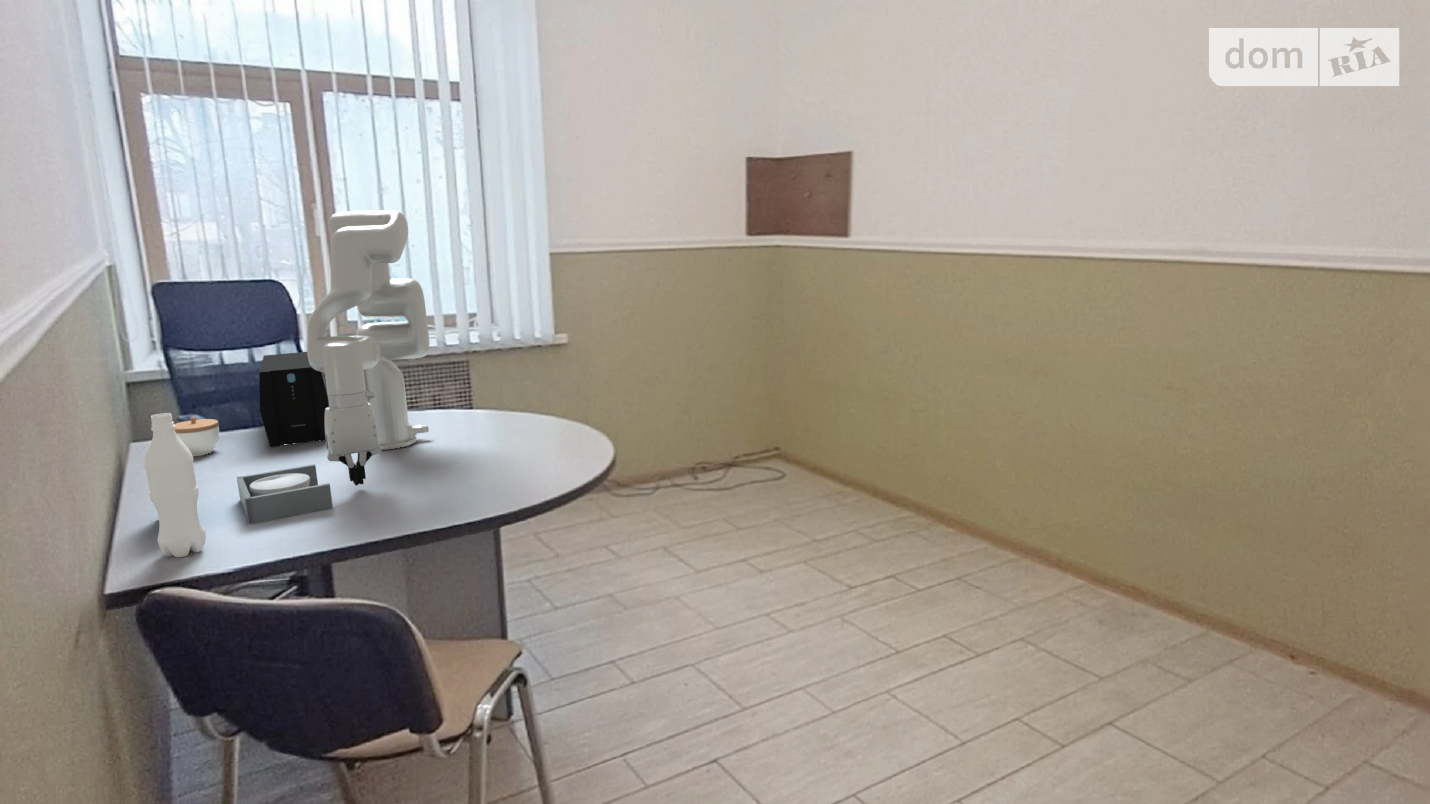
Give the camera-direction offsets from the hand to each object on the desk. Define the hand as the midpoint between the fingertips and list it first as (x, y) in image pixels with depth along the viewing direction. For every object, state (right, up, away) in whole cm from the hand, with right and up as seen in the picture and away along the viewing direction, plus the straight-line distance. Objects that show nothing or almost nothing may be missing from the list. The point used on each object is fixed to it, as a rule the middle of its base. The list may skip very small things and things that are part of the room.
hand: (358, 483), depth 181 cm
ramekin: (-12, -4, -8) cm, 15 cm away
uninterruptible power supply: (-40, +9, +55) cm, 69 cm away
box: (-11, -3, -7) cm, 14 cm away
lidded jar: (-55, +4, +34) cm, 65 cm away
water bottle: (-17, -9, -32) cm, 38 cm away
